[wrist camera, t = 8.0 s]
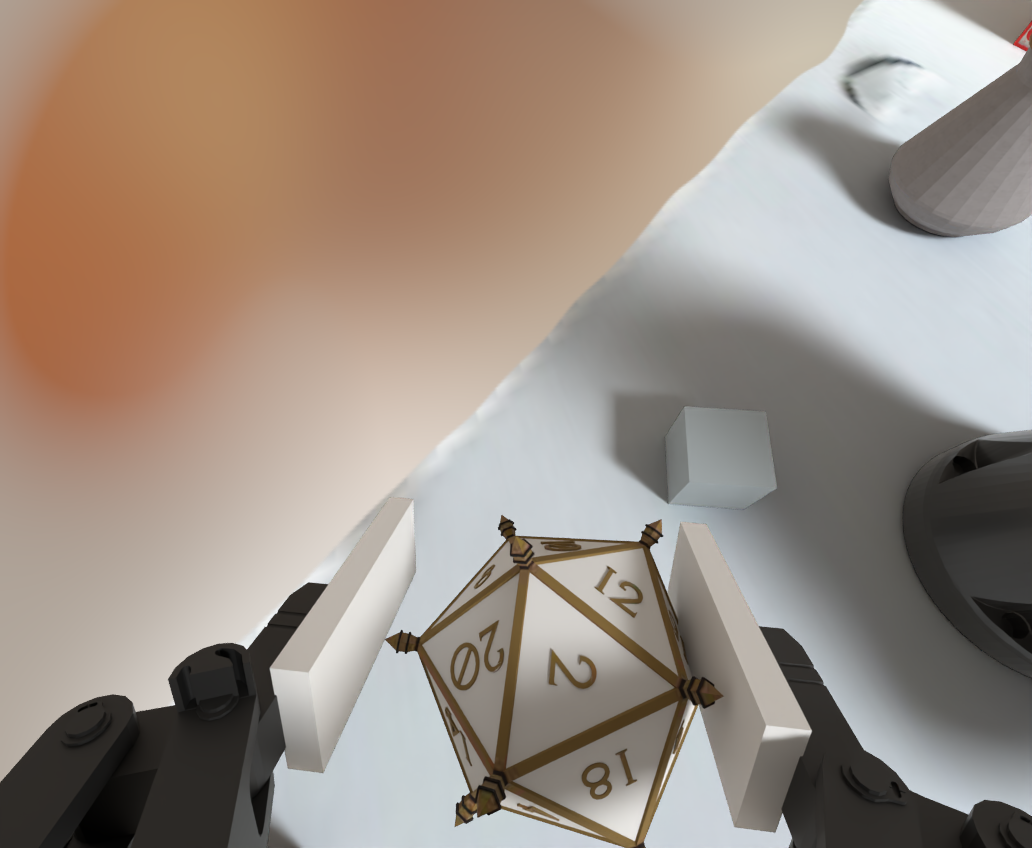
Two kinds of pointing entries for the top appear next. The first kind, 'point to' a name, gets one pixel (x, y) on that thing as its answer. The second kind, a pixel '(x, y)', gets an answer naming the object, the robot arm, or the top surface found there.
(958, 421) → the top surface
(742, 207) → the top surface
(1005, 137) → the coffee pot
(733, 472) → the light grey cube
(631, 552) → the game die
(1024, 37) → the stack of blocks
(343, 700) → the robot arm
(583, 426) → the top surface
